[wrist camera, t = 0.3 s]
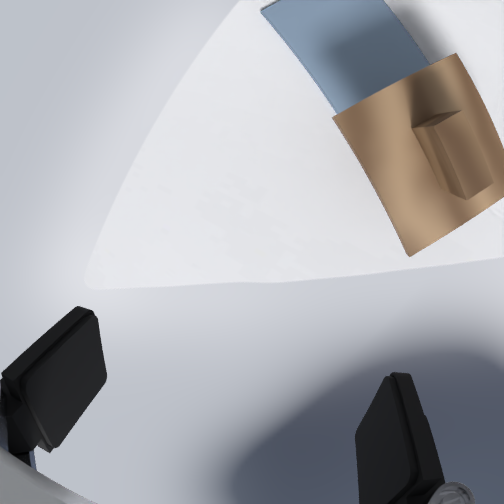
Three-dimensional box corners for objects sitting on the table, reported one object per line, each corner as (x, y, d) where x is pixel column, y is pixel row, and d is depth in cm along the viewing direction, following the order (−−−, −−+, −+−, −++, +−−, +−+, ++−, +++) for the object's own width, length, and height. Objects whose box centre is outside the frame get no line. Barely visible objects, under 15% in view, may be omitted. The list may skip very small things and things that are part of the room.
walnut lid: (451, 55, 20) (481, 39, 15) (511, 185, 23) (546, 197, 18) (331, 117, 25) (340, 110, 19) (406, 253, 27) (427, 279, 22)
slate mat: (352, -31, 26) (353, -33, 25) (429, 67, 29) (431, 66, 28) (261, 13, 30) (260, 11, 30) (338, 116, 33) (338, 115, 33)
